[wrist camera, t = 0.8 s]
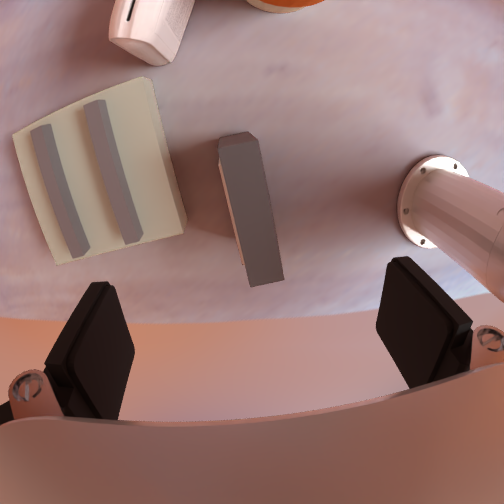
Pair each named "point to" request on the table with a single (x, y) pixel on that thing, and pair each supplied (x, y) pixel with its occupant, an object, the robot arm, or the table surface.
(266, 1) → the reusable coffee cup
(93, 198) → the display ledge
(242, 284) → the table surface
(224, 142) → the thin grey panel
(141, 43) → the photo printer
